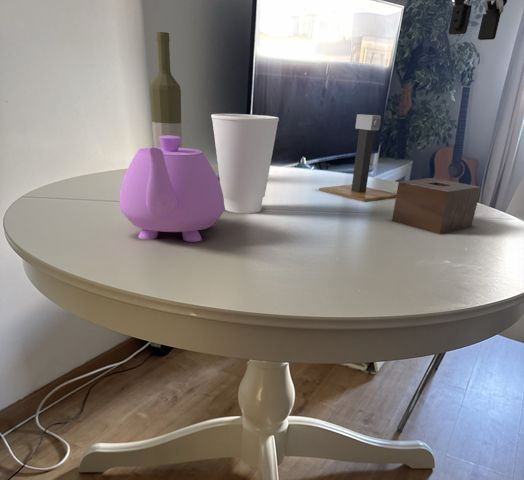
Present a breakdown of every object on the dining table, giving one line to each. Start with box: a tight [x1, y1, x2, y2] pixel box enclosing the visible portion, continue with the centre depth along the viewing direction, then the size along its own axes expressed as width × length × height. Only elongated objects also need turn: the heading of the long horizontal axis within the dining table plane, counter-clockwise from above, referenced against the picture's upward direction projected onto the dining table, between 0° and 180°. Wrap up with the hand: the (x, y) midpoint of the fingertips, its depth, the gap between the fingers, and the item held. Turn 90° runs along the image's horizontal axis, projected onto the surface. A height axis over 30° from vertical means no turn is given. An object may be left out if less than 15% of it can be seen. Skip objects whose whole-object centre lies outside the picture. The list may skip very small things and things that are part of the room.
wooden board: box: [318, 184, 397, 203], centre depth 111 cm, size 12×14×1 cm
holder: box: [391, 177, 482, 235], centre depth 86 cm, size 10×10×7 cm
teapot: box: [119, 135, 225, 242], centre depth 70 cm, size 22×16×14 cm
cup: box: [210, 113, 280, 214], centre depth 87 cm, size 12×12×16 cm
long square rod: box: [351, 113, 382, 192], centre depth 107 cm, size 3×5×16 cm, turn 38°
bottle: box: [149, 31, 183, 148], centre depth 110 cm, size 7×7×30 cm
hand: (471, 36), depth 87 cm, fingers open, 9 cm apart
